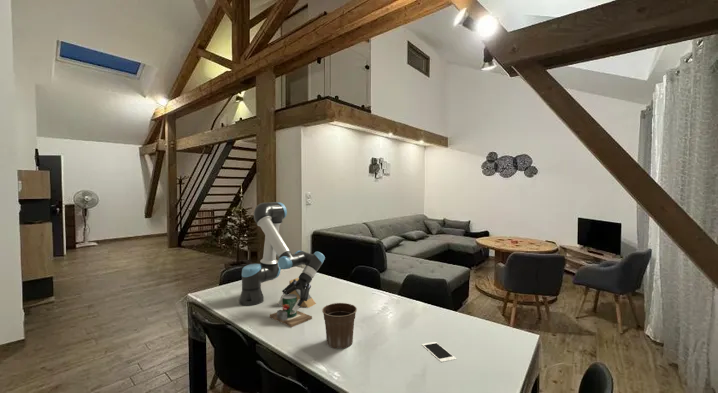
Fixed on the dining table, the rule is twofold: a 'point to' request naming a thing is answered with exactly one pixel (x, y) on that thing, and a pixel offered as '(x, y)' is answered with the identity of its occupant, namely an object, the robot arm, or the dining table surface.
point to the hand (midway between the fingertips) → (286, 307)
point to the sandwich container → (307, 303)
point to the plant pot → (339, 324)
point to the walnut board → (291, 322)
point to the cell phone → (438, 351)
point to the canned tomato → (289, 304)
